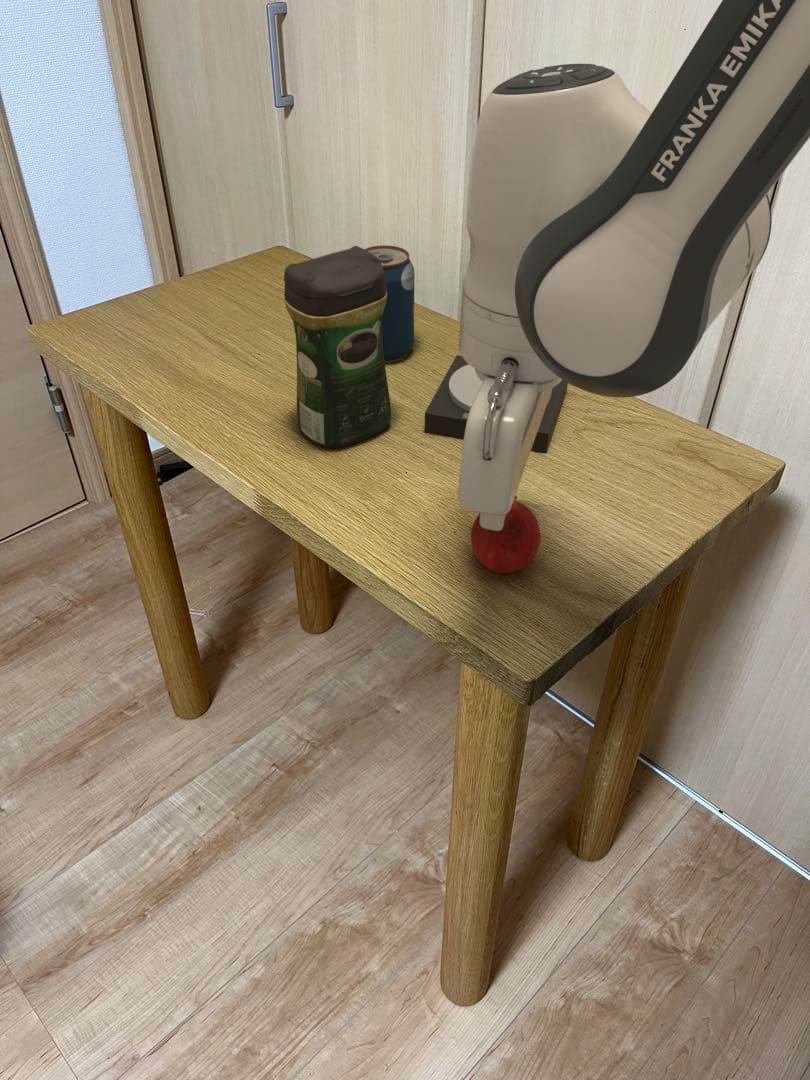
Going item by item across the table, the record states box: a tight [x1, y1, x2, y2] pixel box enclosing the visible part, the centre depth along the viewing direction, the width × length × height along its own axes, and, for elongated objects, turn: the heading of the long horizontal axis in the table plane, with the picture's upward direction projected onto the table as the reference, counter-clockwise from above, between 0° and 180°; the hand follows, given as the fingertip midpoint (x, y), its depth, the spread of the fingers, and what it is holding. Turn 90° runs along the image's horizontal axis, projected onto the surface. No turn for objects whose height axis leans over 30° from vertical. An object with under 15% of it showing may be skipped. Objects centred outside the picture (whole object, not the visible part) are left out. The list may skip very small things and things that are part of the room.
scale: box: [424, 354, 569, 454], centre depth 92 cm, size 13×13×3 cm
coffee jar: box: [283, 245, 392, 449], centre depth 84 cm, size 10×8×19 cm
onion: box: [470, 494, 542, 574], centre depth 71 cm, size 6×6×8 cm
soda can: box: [364, 244, 415, 364], centre depth 99 cm, size 7×7×12 cm
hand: (506, 487), depth 68 cm, fingers open, 8 cm apart
